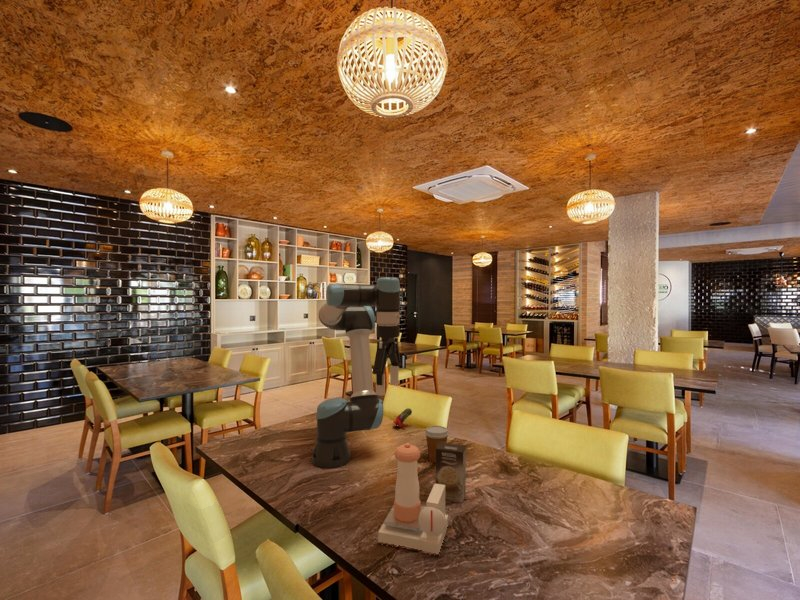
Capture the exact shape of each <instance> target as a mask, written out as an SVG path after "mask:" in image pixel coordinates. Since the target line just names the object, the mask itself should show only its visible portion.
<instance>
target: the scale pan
mask: <svg viewBox="0 0 800 600" xmlns="http://www.w3.org/2000/svg"><path fill="white" fill-rule="evenodd" d="M425 507H426V506H423V505H421V510H422V509H424V508H425ZM383 523H384V525H389V526H394V527H399V528H404V529H409V530H414V531H420V532H421V530H422V529H421V527H420V525H419V522H418V519H417V520H415V521H412V522H404V521H400V520H398V519H397V518H395V516H394V505H392V507H391V509H390V511H389V512H388V514H387V516H386V518H385V519H384V521H383Z"/></svg>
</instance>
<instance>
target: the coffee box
mask: <svg viewBox="0 0 800 600" xmlns="http://www.w3.org/2000/svg"><path fill="white" fill-rule="evenodd" d="M466 456H467V446H466V444H460V443H459V444H458V443H452V442H447V443H446V442H439V444H438V445H437V448H436V462H435V484H442V485H445V501H450V502H454V503H461V504H464V503H463V502H464V499H465V496H466V478H467V477H466V475H467V473H466V470H467V468H466V466H467V465H466V464H467V463H466V462H467V460H466V459H467V457H466Z"/></svg>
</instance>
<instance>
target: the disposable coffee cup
mask: <svg viewBox="0 0 800 600" xmlns="http://www.w3.org/2000/svg"><path fill="white" fill-rule="evenodd" d="M424 435H425V438H426V446H427V453H428V461H429V462H432V463H436V448H437V445H438V444H439V442H446V443H448V436H449V431H448V429H447V428H446V427H445V426H441V425H430V426H428V427H426V429H425V431H424Z"/></svg>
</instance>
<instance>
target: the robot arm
mask: <svg viewBox="0 0 800 600" xmlns="http://www.w3.org/2000/svg"><path fill="white" fill-rule="evenodd" d="M400 284H401V283H400V279H399V278H398V277H390V276H388V277H387V276H386V277H379V278H377V279H376V284H357V283H356V284H353V283H352V284H351V283H349V284H348V283H333V284H332V283H330V284H328V285H327V287H326V289H325V292H326V293H325V295H326V296H325V298H326V303H324V304H323V305H322V306H321V307H320V309H319V311H318V319H319V321H320V323H321V325H323V326H325V327H326V328H328V329H330V330H333V331H345V336H346V337H347V338H349V339H348V340H349V353H350V363H351V378H352V394H351V396H350V397H349V401H347V400H346V398H343V397H340V398H339V397H338V398H337V397H335V398H330V399H327V400H325V401H321V402H320V403H319V404H318V406H317V407H316V416H315V417H316V442H315V445H314V448H313V452H312V455H311V463H312V464H313V465H314V466H316V467H318V468H323V469H326V468H327V469H330V468H337V467H341V466H344V465H346V464H348V463H349V462H350V461H351V458H352V457H351V454H352V453H351V450H350V446H349V444H348V440H347V433H351V432H361V431H371V430H374V429H375V430H376V429H378V428H380V427H381V425H382V423H383V420H384V419H383V418H384V403H383V400H382V399H380V398H379V396H382V397H383V396H386V374H385V370H386V366H387V362H388V358H389V361H390V370H389V371H390V372H389V373H390V376H389V377H390V380H389V383H390V386H397V387H398V386H399V370H400V369H399V367H401V366H402V362H401V356H400V355H401V354H400V348H399V337H400V334H401V333H400V326H399V324H400V318H402V315H401V314H400V306H401V305H400V302H401V298H400V297H401V293H400V292H401V285H400ZM372 307H376V315H375V312H374V310H373V308H372ZM375 316H376V317H375ZM376 324H377V325H376ZM375 327H376V337H377V338H381V339H380V340H381V341H377V343H376V351H375V352H376V353H375V357H374V364H373V368H372V357H371V346H370V336H371V334H372V332H373V331H372V330H374V329H375ZM372 369H373V370H372ZM373 375H375V391H374V382H373V381H374V380H373Z"/></svg>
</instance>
